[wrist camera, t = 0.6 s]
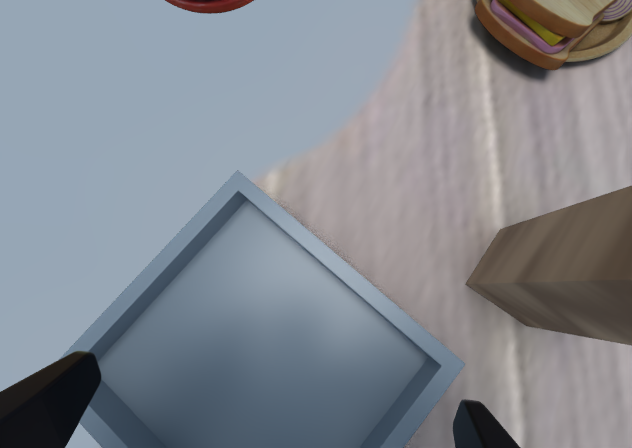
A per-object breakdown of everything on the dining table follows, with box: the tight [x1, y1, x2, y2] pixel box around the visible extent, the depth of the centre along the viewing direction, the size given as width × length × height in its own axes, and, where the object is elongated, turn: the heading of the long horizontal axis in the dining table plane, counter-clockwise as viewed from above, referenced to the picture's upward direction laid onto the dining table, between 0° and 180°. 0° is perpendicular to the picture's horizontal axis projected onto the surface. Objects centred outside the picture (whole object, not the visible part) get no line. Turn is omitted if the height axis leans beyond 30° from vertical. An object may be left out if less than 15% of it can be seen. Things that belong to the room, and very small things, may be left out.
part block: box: [466, 186, 632, 345], centre depth 16 cm, size 4×4×12 cm
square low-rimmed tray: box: [59, 170, 465, 448], centre depth 19 cm, size 15×14×5 cm
